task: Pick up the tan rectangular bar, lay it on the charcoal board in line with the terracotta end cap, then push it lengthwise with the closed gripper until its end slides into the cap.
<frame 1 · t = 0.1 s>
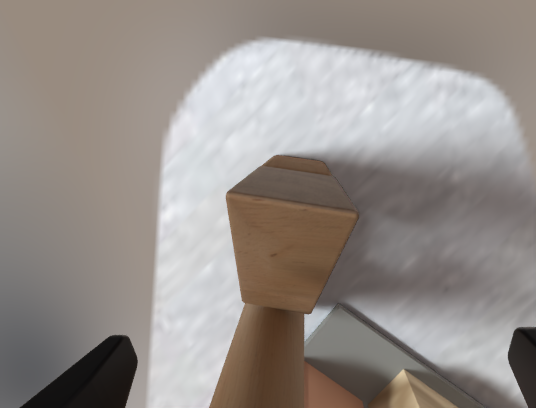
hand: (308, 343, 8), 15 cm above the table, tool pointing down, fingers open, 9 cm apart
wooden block: (287, 233, 24), on the table
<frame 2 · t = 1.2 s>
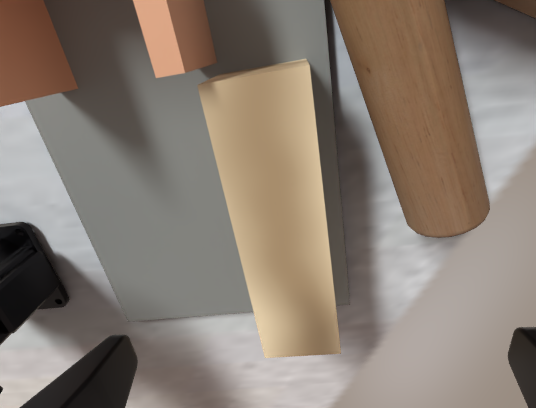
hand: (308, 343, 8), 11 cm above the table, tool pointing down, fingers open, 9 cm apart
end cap: (122, 19, 15), resting on board
tan rectangular bar: (284, 203, 18), point 1 cm above the table, touching board
board: (194, 159, 18), on the table
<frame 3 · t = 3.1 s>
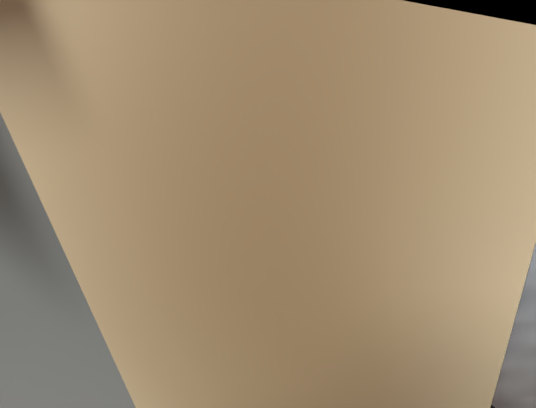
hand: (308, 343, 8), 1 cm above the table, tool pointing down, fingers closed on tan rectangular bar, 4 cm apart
tan rectangular bar: (308, 321, 9), point 1 cm above the table, touching board, gripper
board: (118, 218, 8), on the table
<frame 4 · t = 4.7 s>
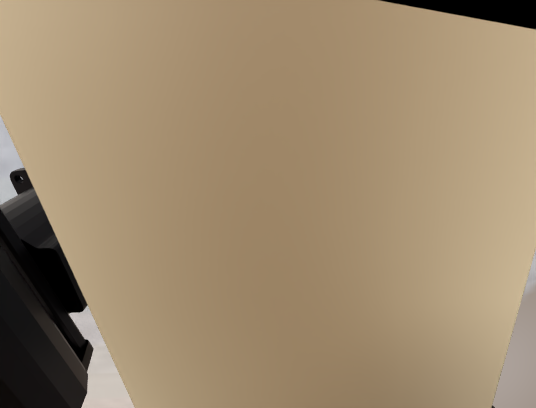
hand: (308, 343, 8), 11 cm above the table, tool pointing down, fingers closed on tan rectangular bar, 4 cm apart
tan rectangular bar: (308, 321, 9), point 10 cm above the table, touching gripper
when the fingers open (2 cm above the table, at t = 6.5 s): tan rectangular bar stays where it is, resting on board.
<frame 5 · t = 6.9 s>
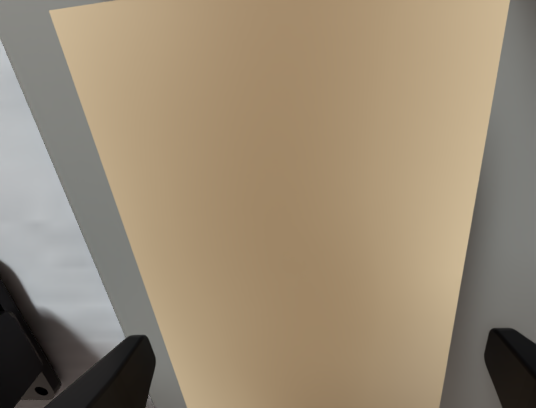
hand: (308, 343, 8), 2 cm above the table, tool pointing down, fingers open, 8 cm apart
tan rectangular bar: (306, 294, 9), point 1 cm above the table, touching board
board: (360, 146, 8), on the table
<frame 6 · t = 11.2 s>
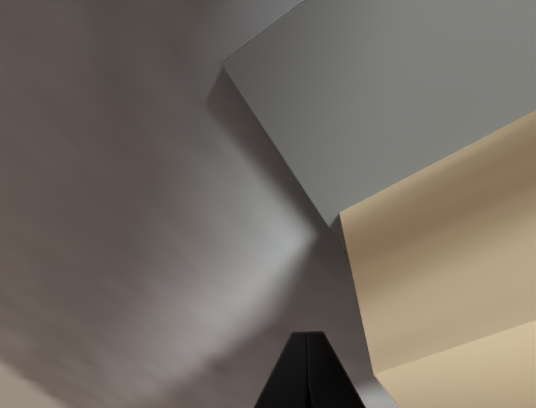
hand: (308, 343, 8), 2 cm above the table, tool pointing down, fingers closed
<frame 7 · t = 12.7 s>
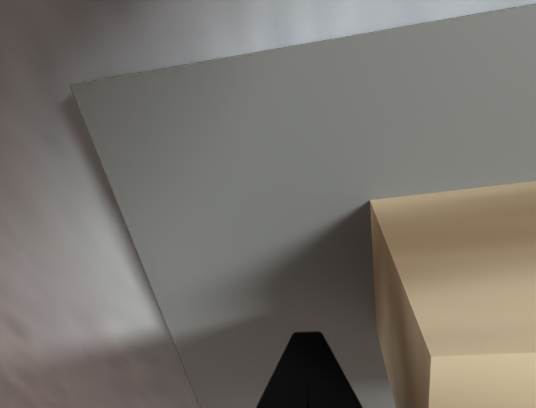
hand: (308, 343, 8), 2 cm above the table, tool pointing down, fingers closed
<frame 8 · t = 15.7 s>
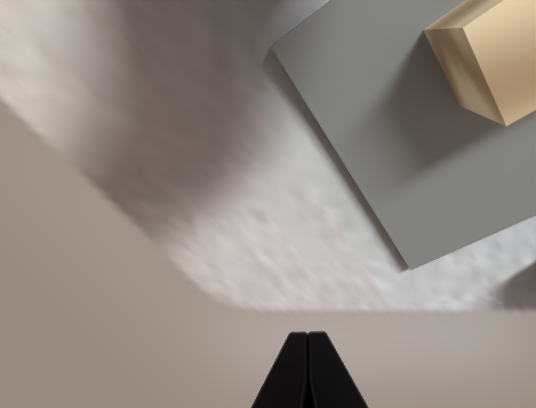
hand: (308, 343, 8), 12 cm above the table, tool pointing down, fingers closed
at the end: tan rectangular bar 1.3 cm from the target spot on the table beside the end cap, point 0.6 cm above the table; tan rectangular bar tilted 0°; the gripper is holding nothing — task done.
